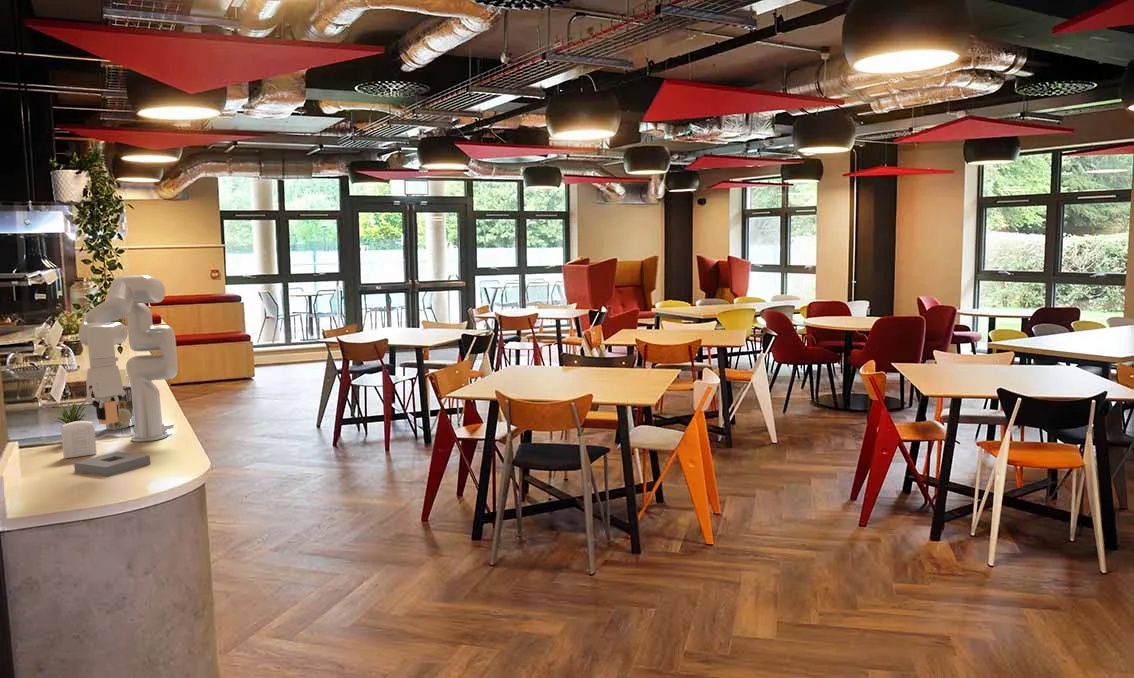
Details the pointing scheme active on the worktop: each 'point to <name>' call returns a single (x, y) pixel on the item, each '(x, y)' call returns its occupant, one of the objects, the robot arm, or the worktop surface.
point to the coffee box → (123, 410)
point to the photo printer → (78, 439)
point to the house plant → (71, 413)
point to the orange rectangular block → (109, 412)
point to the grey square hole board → (112, 463)
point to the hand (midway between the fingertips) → (108, 417)
